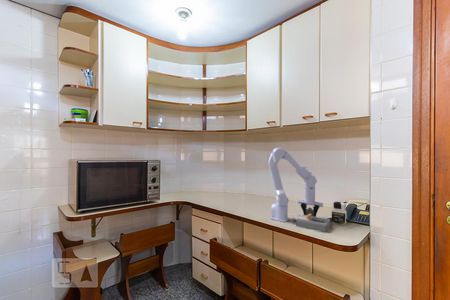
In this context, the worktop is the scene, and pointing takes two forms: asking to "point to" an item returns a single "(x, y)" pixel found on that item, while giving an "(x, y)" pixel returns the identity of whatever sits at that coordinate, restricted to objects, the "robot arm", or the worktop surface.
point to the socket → (315, 223)
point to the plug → (310, 211)
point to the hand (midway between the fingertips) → (309, 216)
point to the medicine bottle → (339, 213)
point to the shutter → (304, 217)
